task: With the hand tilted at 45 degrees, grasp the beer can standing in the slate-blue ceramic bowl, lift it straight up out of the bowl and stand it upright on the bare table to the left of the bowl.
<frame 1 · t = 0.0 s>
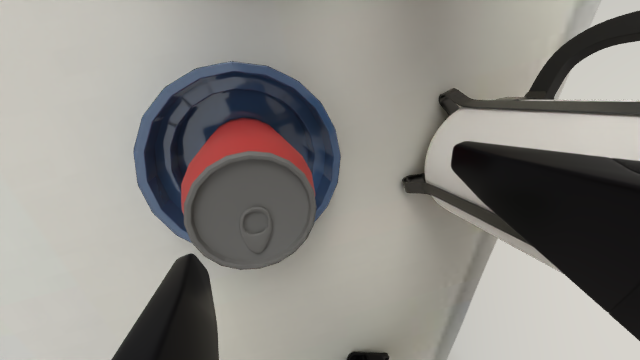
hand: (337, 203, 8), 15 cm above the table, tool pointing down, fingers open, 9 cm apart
coffee press: (456, 142, 28), on the table
bowl: (247, 155, 22), on the table
beer can: (247, 155, 22), resting on bowl
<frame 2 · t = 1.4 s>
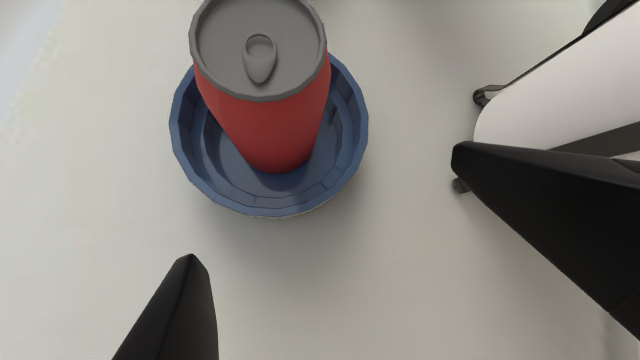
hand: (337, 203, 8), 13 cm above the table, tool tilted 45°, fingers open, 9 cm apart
coffee press: (510, 145, 25), on the table
bowl: (277, 140, 22), on the table
beer can: (276, 139, 22), resting on bowl
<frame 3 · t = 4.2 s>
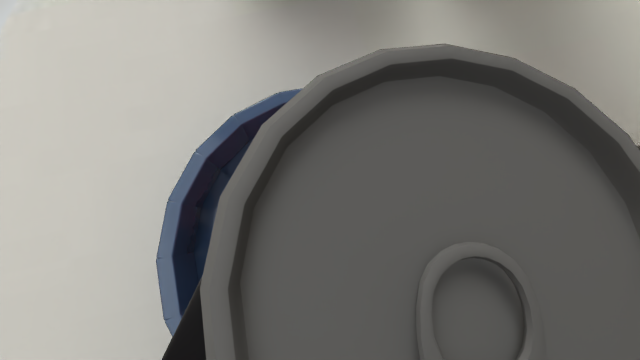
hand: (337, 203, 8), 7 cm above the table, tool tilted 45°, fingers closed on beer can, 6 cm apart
bowl: (326, 237, 14), on the table
beer can: (326, 237, 14), resting on bowl, touching gripper
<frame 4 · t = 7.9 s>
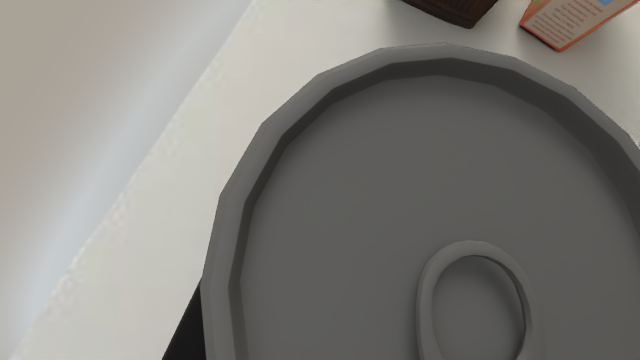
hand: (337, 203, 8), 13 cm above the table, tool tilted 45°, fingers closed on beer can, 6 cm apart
cracker box: (558, 0, 29), on the table
beer can: (326, 237, 14), point 7 cm above the table, touching gripper
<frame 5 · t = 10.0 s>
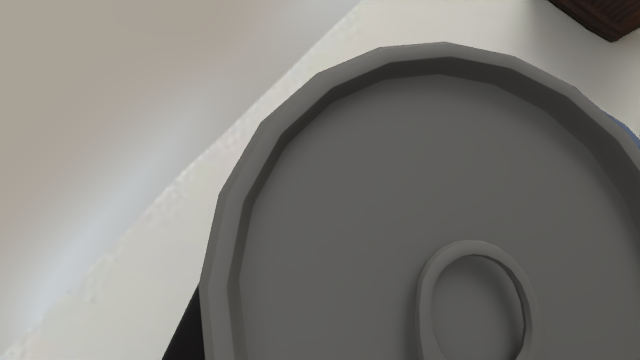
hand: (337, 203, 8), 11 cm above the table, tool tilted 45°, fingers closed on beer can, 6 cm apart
beer can: (325, 237, 14), point 4 cm above the table, touching gripper
when the fingers open (7 cm above the table, at t = 11.7 s): beer can stays where it is, on the table.
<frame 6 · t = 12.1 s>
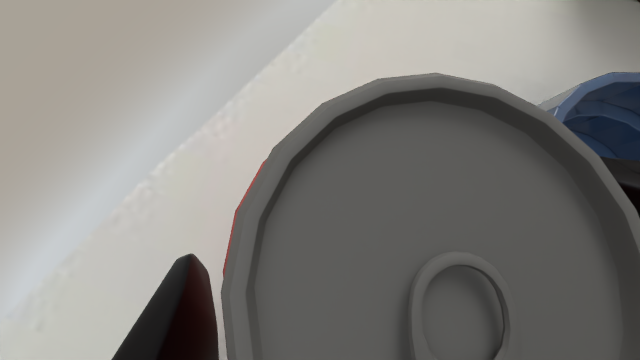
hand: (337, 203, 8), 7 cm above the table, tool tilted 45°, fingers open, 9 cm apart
bowl: (571, 205, 17), on the table
beer can: (326, 239, 15), on the table
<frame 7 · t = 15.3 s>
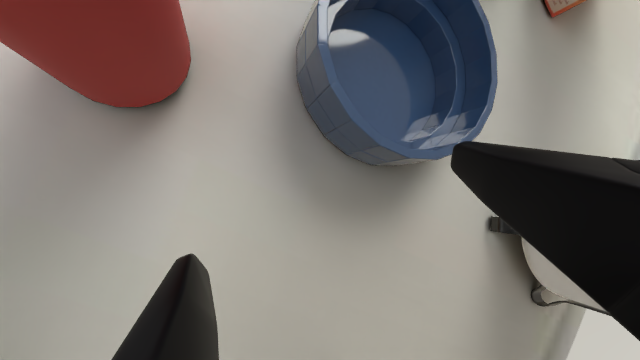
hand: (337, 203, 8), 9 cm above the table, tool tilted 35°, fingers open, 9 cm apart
coffee press: (539, 217, 26), on the table
bowl: (380, 79, 20), on the table
beer can: (128, 54, 14), on the table
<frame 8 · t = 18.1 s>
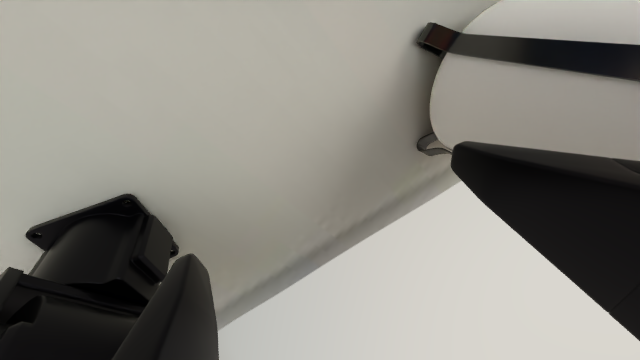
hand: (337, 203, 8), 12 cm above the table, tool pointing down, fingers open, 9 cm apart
coffee press: (477, 69, 23), on the table
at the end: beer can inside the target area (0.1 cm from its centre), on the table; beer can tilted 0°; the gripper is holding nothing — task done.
